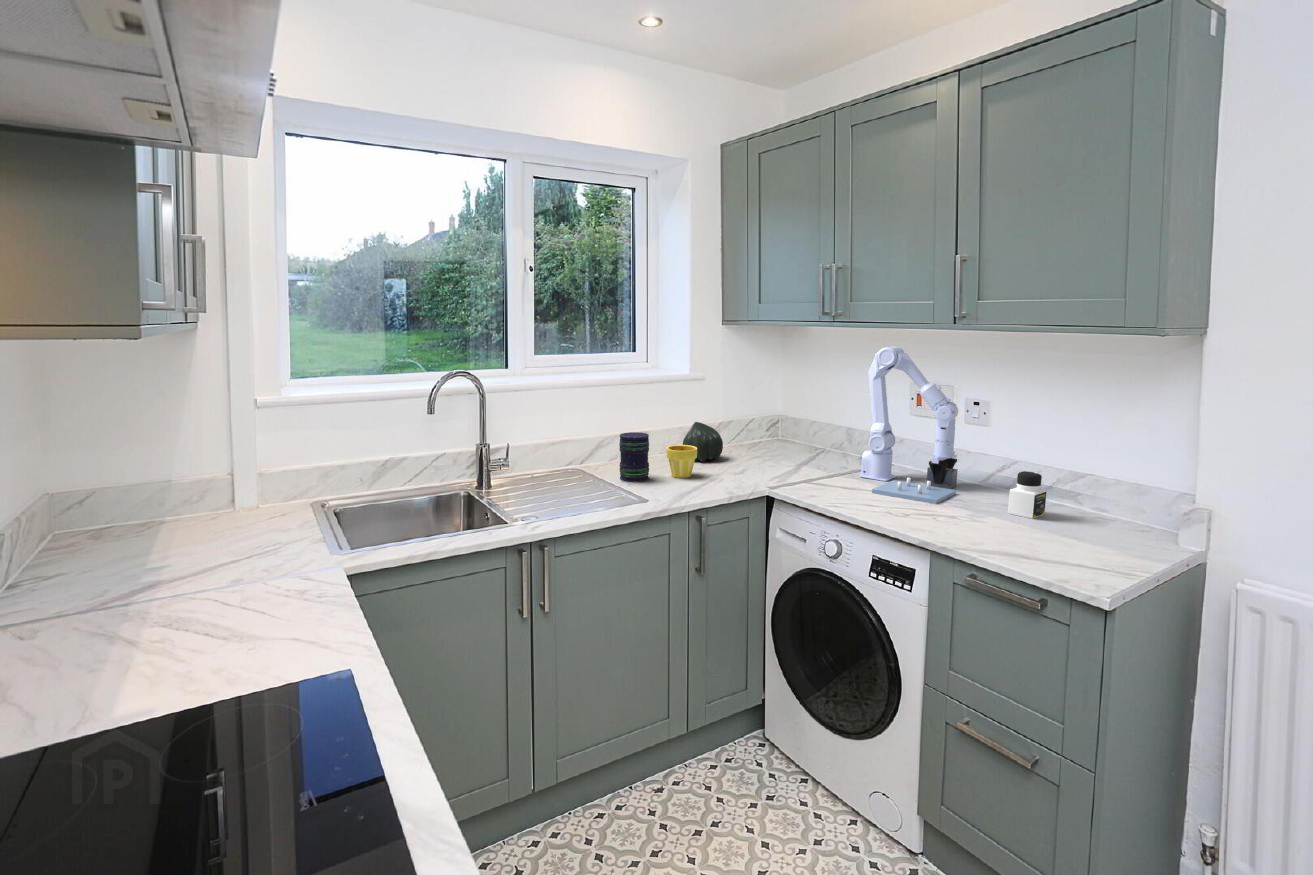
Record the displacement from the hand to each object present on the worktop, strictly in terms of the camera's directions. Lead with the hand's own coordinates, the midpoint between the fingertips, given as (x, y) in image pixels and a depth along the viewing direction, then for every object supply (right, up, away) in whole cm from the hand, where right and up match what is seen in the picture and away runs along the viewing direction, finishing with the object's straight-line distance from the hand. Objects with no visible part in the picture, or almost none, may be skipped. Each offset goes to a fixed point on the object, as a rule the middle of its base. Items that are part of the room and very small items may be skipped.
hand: (941, 482), depth 243 cm
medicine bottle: (+12, -7, -32) cm, 35 cm away
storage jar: (-99, 0, +9) cm, 100 cm away
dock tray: (-12, -3, -9) cm, 15 cm away
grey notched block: (0, -2, 0) cm, 2 cm away
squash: (-75, +6, +40) cm, 85 cm away
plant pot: (-83, +1, +14) cm, 84 cm away
